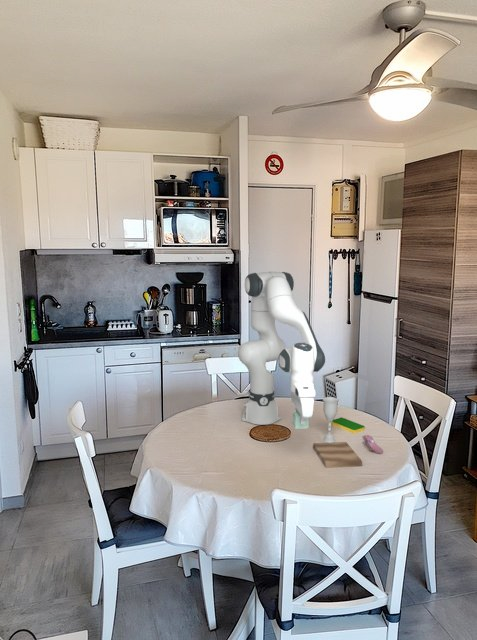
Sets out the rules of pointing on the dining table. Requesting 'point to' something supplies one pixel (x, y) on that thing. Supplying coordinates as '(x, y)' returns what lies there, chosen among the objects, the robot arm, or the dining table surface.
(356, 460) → the walnut board
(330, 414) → the chalice
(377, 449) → the video game controller
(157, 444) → the dining table surface
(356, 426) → the dish sponge
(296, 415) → the sage cube
